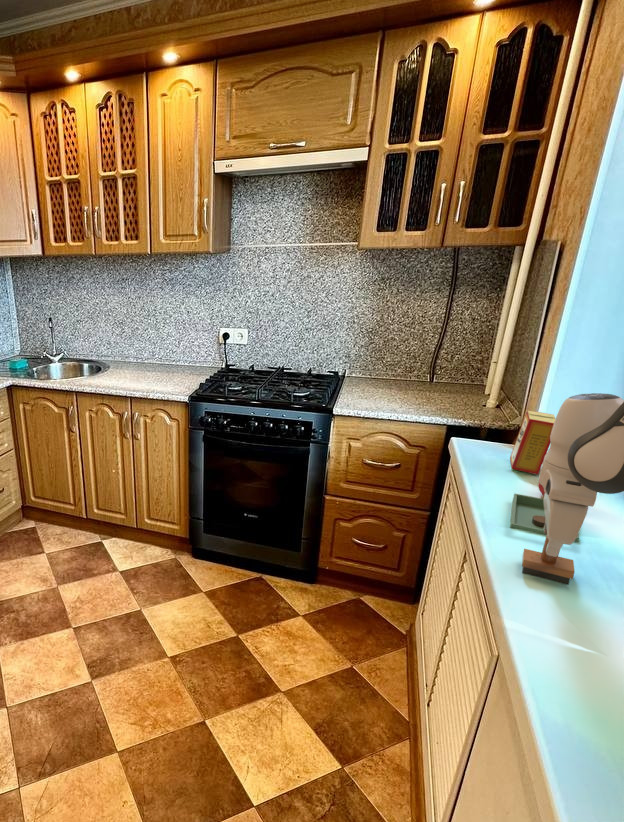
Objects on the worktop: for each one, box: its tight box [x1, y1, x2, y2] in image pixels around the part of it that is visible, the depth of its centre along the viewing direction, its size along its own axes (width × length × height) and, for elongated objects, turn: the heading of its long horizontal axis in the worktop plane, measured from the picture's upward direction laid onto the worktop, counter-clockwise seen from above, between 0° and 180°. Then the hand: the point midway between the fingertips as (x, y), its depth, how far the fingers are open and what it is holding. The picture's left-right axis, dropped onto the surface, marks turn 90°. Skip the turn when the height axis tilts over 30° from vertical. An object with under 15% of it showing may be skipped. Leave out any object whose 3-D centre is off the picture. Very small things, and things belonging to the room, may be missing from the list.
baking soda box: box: [509, 409, 556, 476], centre depth 153 cm, size 10×6×16 cm
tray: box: [509, 493, 580, 543], centre depth 124 cm, size 19×12×3 cm, turn 145°
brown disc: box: [532, 516, 545, 528], centre depth 123 cm, size 4×4×1 cm
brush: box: [521, 535, 575, 586], centre depth 103 cm, size 8×5×11 cm, turn 55°
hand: (549, 543), depth 102 cm, fingers open, 8 cm apart
